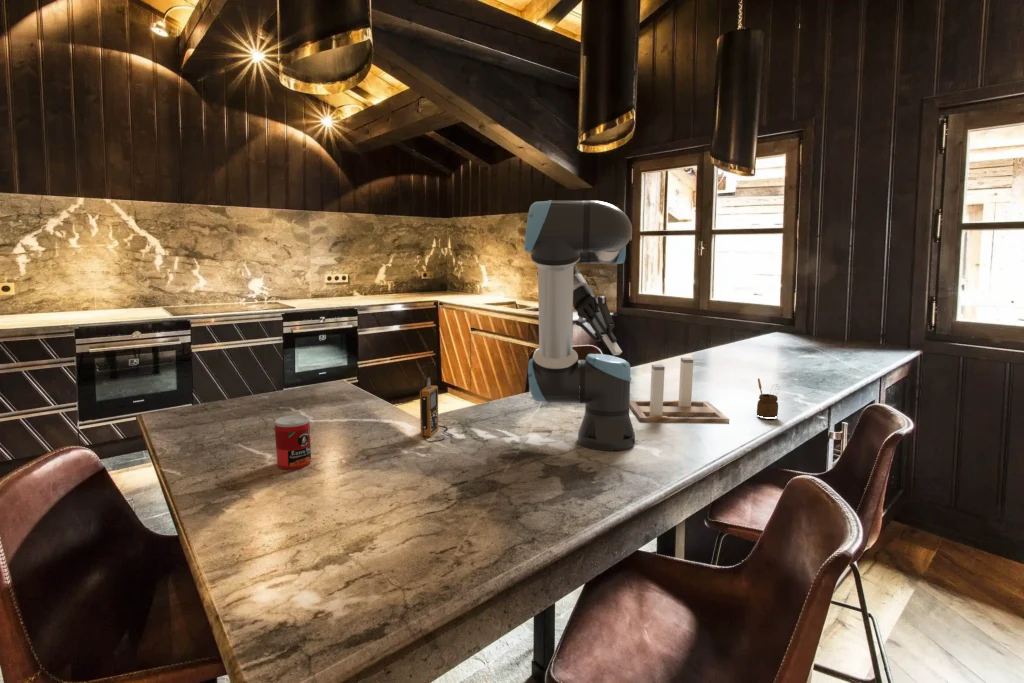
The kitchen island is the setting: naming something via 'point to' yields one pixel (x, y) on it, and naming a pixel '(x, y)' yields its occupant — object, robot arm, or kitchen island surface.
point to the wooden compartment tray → (679, 412)
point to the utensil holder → (767, 404)
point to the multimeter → (429, 409)
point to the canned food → (293, 442)
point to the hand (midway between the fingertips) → (617, 353)
